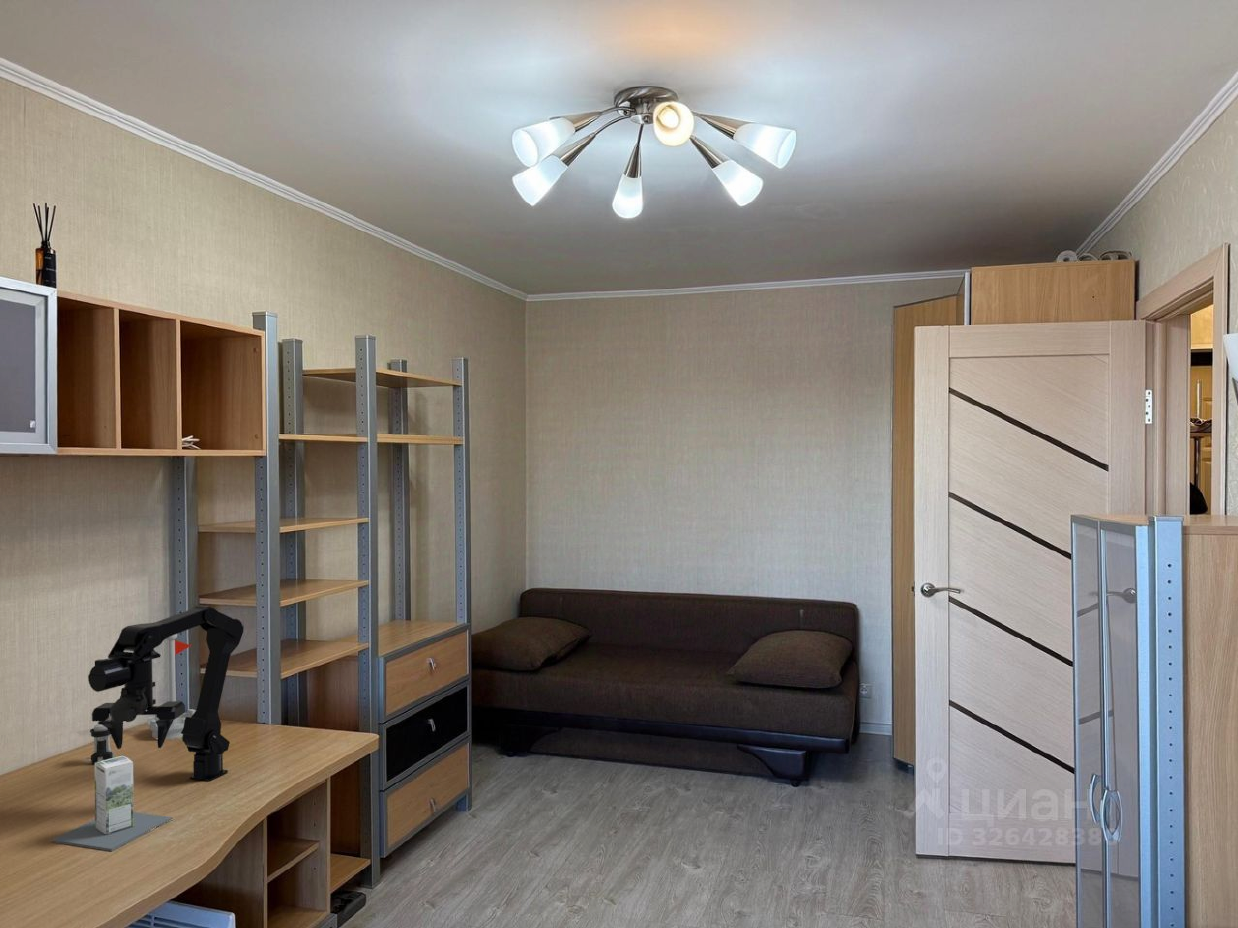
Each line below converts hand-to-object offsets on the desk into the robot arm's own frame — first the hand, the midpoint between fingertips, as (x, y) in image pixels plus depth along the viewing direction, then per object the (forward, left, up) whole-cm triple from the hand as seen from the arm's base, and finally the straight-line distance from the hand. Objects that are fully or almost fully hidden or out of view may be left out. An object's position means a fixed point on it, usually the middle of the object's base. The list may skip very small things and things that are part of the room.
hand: (139, 748), depth 204 cm
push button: (-19, -33, -13) cm, 40 cm away
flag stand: (-44, -33, -13) cm, 57 cm away
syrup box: (+13, +6, -13) cm, 19 cm away
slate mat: (+13, +6, -13) cm, 19 cm away
